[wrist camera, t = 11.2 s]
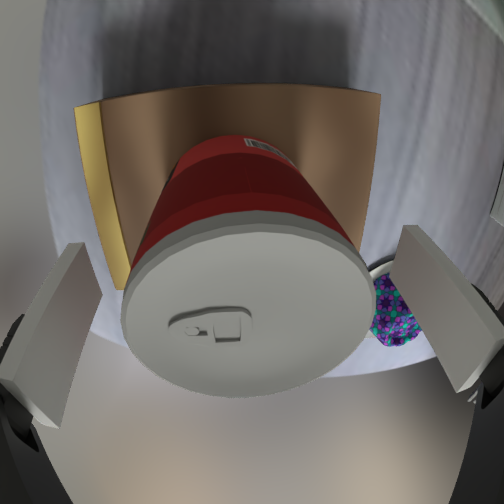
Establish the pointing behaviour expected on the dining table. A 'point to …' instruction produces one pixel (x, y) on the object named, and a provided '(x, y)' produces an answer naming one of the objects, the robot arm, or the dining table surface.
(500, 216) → the supplement box
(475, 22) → the dining table surface
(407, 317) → the pudding
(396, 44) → the dining table surface
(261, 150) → the canned food
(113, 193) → the wooden block
